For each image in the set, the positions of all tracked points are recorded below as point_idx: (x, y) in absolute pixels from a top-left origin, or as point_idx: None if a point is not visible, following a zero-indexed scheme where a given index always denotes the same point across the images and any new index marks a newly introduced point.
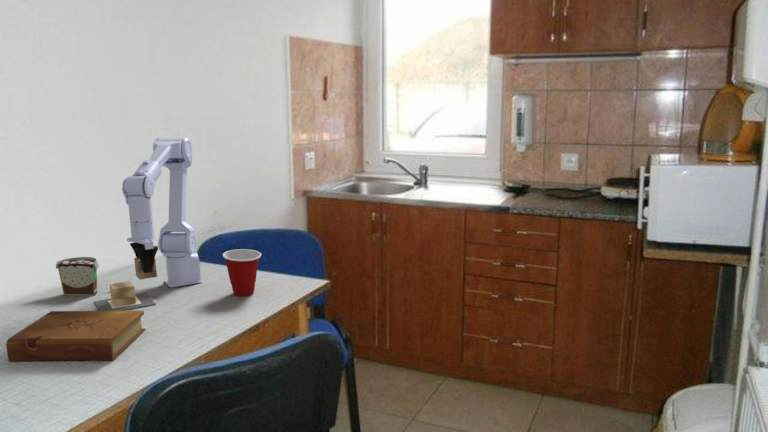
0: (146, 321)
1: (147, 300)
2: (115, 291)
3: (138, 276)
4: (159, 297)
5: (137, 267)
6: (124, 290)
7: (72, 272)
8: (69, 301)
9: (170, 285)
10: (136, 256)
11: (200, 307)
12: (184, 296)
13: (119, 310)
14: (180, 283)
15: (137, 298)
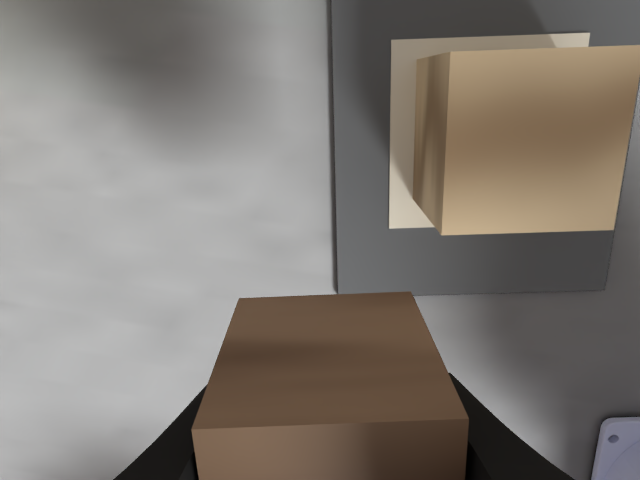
0: (56, 200)
1: (432, 269)
2: (444, 74)
3: (275, 307)
4: (468, 336)
5: (275, 361)
6: (440, 150)
7: None
8: None
9: (625, 427)
10: (494, 461)
11: None
12: None
13: (333, 81)
14: (609, 477)
15: None
